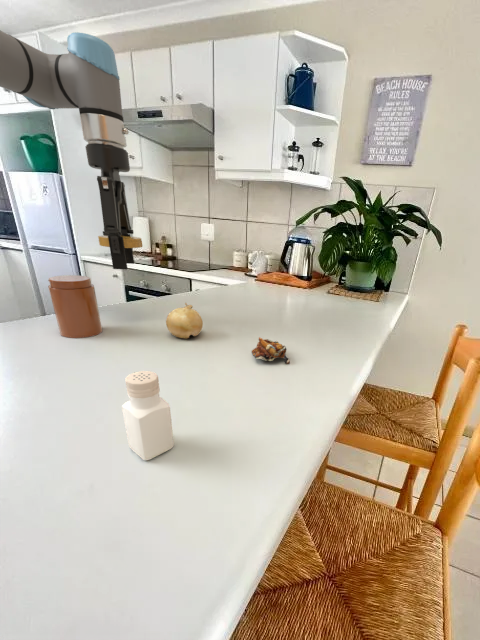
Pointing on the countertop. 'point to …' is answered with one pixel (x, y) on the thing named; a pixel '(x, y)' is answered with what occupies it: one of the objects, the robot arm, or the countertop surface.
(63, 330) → the jar
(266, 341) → the brown lumpy piece
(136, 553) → the countertop surface
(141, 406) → the salt shaker
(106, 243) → the lid
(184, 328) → the onion
